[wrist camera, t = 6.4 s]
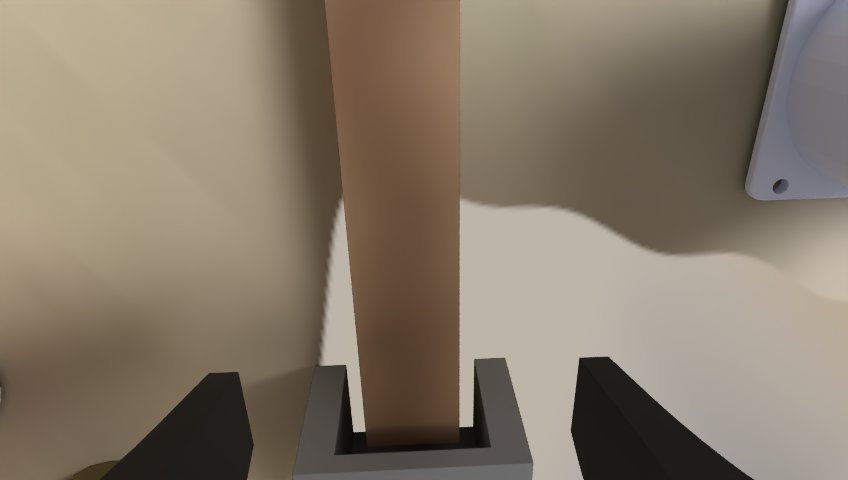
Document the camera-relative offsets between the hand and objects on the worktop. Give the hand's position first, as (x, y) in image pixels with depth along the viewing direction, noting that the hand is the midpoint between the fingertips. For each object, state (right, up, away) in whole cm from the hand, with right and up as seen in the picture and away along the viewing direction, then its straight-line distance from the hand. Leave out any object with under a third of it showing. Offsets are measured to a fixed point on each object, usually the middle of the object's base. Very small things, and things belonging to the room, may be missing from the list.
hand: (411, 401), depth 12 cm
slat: (0, +5, +7) cm, 9 cm away
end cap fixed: (0, -4, +11) cm, 12 cm away
